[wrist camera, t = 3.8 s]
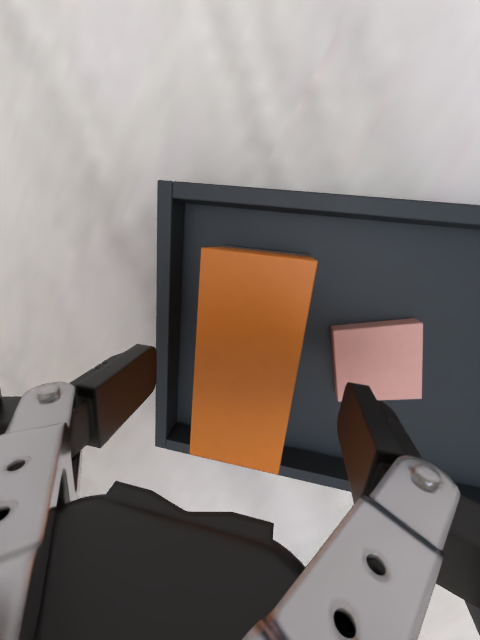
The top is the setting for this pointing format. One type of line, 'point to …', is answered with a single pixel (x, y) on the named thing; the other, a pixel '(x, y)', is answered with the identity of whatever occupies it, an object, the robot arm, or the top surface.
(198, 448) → the orange rectangular block
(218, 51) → the top surface
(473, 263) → the tray
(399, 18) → the top surface
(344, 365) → the pink block
